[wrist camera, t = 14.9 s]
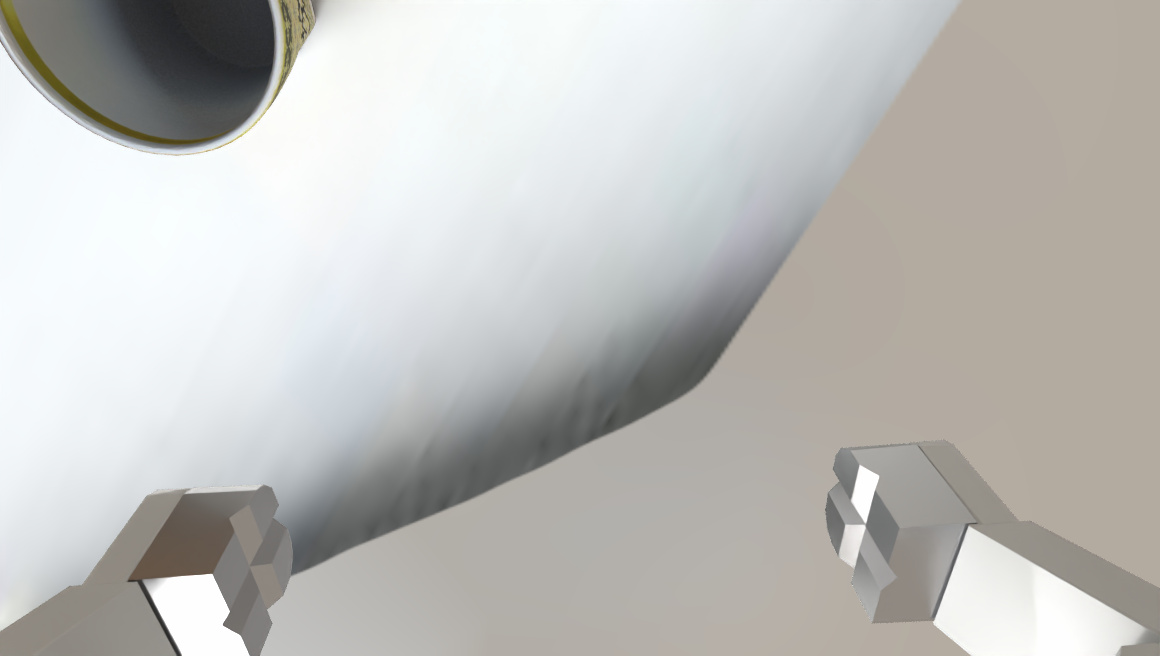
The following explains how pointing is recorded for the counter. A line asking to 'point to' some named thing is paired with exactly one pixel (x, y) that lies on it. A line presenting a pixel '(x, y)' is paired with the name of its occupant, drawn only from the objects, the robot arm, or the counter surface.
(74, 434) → the counter surface
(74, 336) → the counter surface
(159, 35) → the ceramic cup
